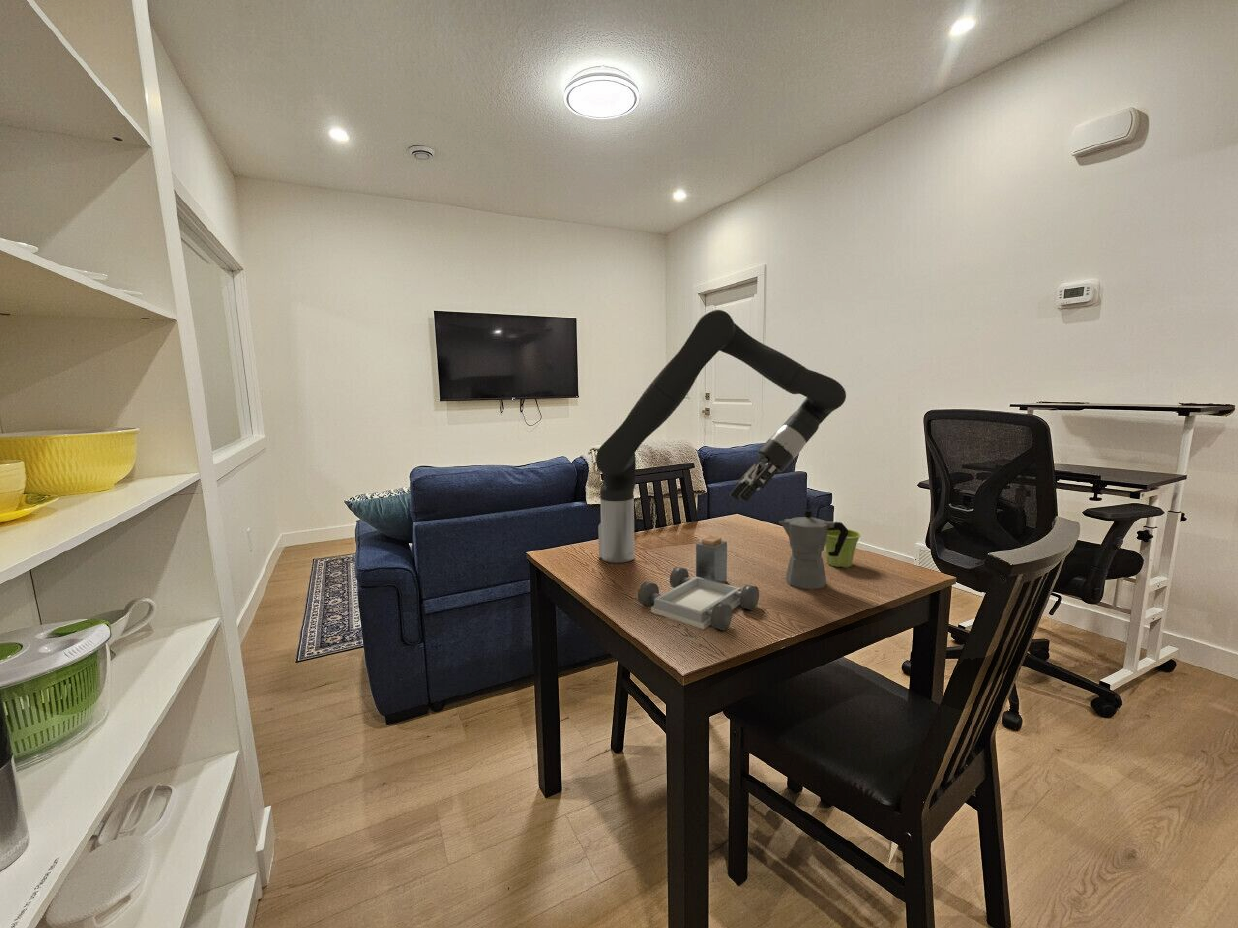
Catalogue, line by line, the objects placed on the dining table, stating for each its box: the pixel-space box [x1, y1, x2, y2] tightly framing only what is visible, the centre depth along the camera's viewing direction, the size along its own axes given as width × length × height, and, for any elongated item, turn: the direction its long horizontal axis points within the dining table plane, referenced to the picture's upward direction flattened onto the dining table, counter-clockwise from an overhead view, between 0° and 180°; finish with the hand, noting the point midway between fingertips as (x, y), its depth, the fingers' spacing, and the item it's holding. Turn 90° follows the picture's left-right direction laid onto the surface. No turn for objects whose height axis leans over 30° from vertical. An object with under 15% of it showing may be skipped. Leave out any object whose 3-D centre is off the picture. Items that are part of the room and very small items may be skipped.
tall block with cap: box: [695, 535, 728, 584], centre depth 124 cm, size 5×6×11 cm
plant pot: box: [824, 528, 861, 569], centre depth 136 cm, size 9×9×9 cm
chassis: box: [637, 566, 760, 632], centre depth 111 cm, size 20×17×5 cm
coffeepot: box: [778, 509, 848, 590], centre depth 122 cm, size 15×9×18 cm, turn 65°
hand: (737, 498), depth 123 cm, fingers open, 8 cm apart
